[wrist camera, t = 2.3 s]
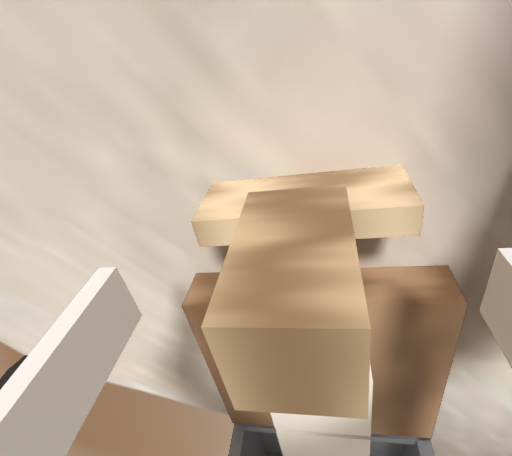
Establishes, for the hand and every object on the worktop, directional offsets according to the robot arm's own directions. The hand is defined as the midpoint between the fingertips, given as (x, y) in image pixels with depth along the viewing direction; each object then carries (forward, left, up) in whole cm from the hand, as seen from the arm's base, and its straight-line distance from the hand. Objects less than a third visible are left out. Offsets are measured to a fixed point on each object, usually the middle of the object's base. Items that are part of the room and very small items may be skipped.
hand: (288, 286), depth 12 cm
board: (0, +13, -7) cm, 15 cm away
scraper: (0, 0, -7) cm, 7 cm away
